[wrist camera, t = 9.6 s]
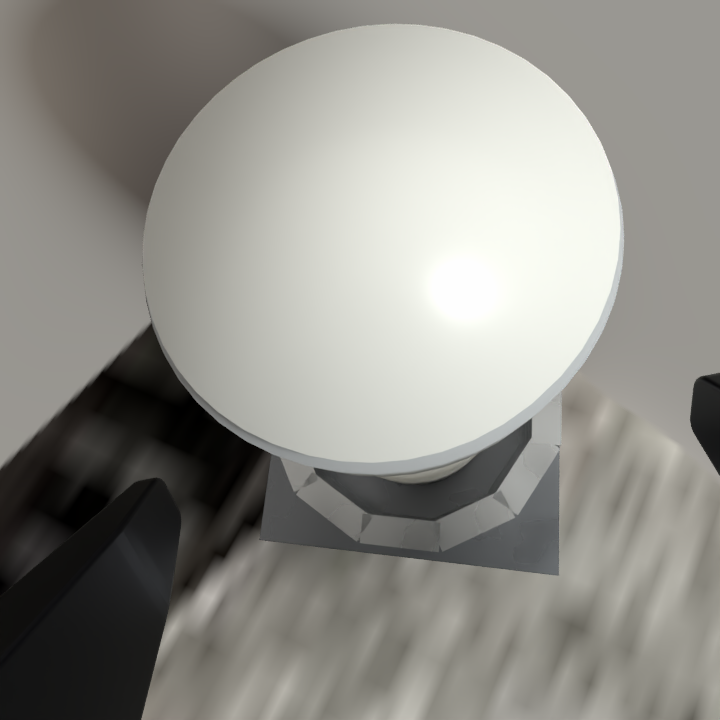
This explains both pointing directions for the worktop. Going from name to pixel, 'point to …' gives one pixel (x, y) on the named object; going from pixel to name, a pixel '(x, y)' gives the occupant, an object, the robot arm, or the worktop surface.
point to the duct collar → (433, 506)
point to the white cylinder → (383, 250)
